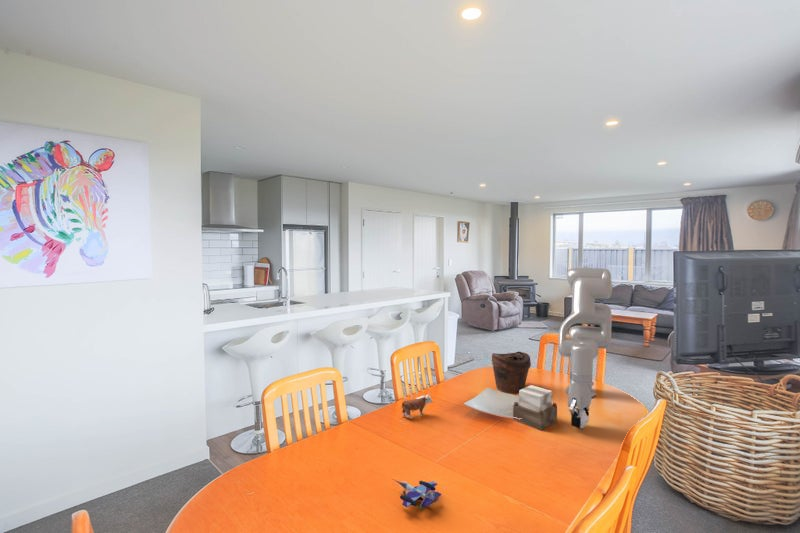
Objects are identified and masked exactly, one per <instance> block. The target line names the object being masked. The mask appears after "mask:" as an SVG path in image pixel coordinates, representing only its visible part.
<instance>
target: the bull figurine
mask: <svg viewBox="0 0 800 533" xmlns="http://www.w3.org/2000/svg"><path fill="white" fill-rule="evenodd" d="M433 402H434V400H433V399H432V398H431V396H430V395H429V394H425V395H421V396H418V397H416V398H413V399H412V398H411V399H409V400H408V399H407V400H404V401H403V402H402V403H401V409H402V410H401V412H402V417H404V418H406V417H409V419H411V420H413V419H414V418H413V416H412V415H411V412H413V413H414V412H415V411H417V410H418V412H419V413H418V414H419V416H420V417H423V410H424V409H425V407H426V406H427V404H429V403H433Z"/></svg>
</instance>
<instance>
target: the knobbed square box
mask: <svg viewBox="0 0 800 533" xmlns="http://www.w3.org/2000/svg"><path fill="white" fill-rule="evenodd" d="M512 407H513V409H512V411H513V412H512V418H513V417H517V418H522V419H520V420H519V419H516V418H513V419H512V421H515V422H518V423H520V424H523V425H525V426H528V427H531V428H534V429H536V430H539V431H544V430H545V429H547V428H548V427H550V426H552V425H553V424H555V423H556V422H558V404H557V403H556V402H553V391H552V390H549V389H546V388H543V387H539V386H535V385H532V384H531V385H528V386H525V388H523V389H521V390H519V393H518V402H517V401H514V402H513V405H512Z"/></svg>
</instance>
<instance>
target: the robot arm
mask: <svg viewBox="0 0 800 533" xmlns="http://www.w3.org/2000/svg"><path fill="white" fill-rule="evenodd" d="M566 277H567V278H566V279H567V282H568V285H569V287H570V288H571V291H572V292H571V293H572V294H571V296H572V297H571V313H570V314H569V315H568V316H567V317H566V318H565V319H564V320H563V321H562V323H561V325H560V327H559V330H558V343H557V348H558V349H557V350H558V353H559V355H561V356H562V357H565V358H569V386H567V387H565V392H566V393H567V394H568V395H567V396H568V397H567V406H568V408H569V409H568V410H569V412H570V416H571V418H570V420H571V422H570V425H571V426H572V427H574V428H577V429H581V428H580V420H581V417H580V411H581V410H582V409H584V410H585V413H586V415H587V416H588V417H589V418H590V414H589V413H590V405H591V404H592V398H594V397H596V391H595V390H594V389H593V386H594V385H595V382H594V381H593V367H594V365H593V364H594V359H596V357H597V356H598V355H599V349H603V350H604V349H606V350H607V349H608V348H609V349H610V346H611V343H612V326H613V325H612V324H613V323H612V322H613V320H612V318H613V317H612V310H611V308H610V306H609V305H607V304H605V303H604V304H603V303H595V302H596V300H608V299H610V298H611V297H612V291H613V284H612V282H613V281H612V274H611V271H610V270H609V269H607V268H600V267H599V268H598V267H597V268H595V267H593V268H592V267H572V268H570V269H568V270H567V272H566ZM575 324H583V325H575ZM587 325H588V326H587ZM590 325H593V326H590ZM596 325H597V327H596ZM567 331H568V337H567ZM575 410H578V412H576V411H575Z"/></svg>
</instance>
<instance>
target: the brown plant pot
mask: <svg viewBox="0 0 800 533" xmlns="http://www.w3.org/2000/svg"><path fill="white" fill-rule="evenodd" d="M491 362H492V363H491V364H492V369H493V375H494V380H495V381H494V382H495V386H496V389H497V390H498V391H500V392H503V393H506V394H507V393H508V394H519V390H521V389H523V388H526V382H527V380H528V379H527V378H528V374H529V369H530V368H531V367H532V363H531V356H530V355H529V354H528V353H527V352H524V351H517V352H509V353H492V354H491Z"/></svg>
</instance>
